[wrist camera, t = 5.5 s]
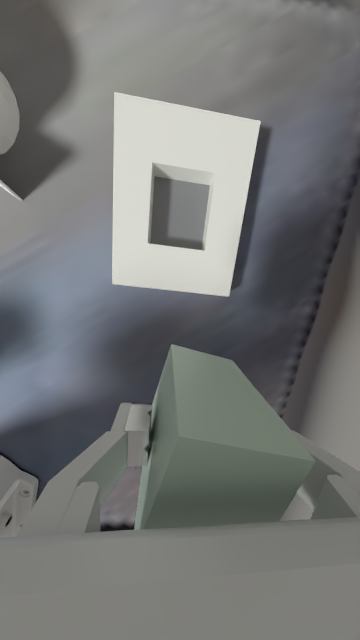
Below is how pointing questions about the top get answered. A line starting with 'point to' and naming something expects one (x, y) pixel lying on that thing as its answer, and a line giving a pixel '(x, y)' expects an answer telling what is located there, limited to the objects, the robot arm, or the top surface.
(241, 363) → the top surface
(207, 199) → the socket plate
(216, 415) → the plug
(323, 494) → the robot arm
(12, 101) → the toilet paper
